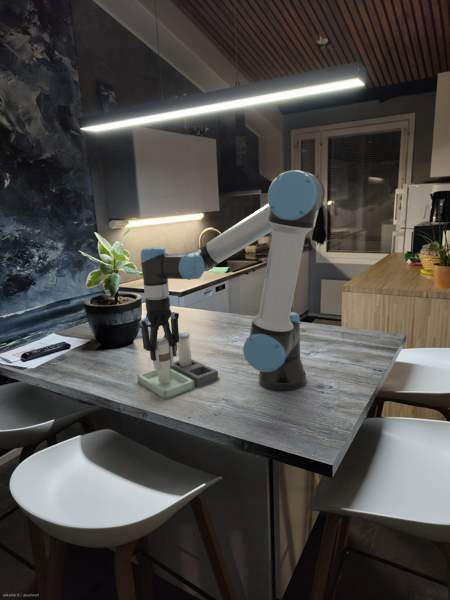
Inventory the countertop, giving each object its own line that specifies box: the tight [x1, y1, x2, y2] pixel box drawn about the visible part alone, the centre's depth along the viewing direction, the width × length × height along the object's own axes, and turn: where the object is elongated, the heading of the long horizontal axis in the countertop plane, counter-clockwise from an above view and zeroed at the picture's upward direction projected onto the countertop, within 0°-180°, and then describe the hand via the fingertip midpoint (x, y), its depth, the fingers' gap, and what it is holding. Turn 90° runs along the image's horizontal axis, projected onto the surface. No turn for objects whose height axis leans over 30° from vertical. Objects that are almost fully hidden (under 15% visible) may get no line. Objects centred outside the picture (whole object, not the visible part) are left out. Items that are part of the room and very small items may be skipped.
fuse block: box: [171, 359, 221, 387], centre depth 140 cm, size 18×9×3 cm, turn 38°
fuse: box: [177, 332, 193, 368], centre depth 142 cm, size 4×4×14 cm
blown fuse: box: [156, 337, 172, 383], centre depth 132 cm, size 4×4×14 cm
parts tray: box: [137, 368, 196, 400], centre depth 134 cm, size 18×11×3 cm, turn 38°
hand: (163, 366), depth 132 cm, fingers closed on blown fuse, 4 cm apart
